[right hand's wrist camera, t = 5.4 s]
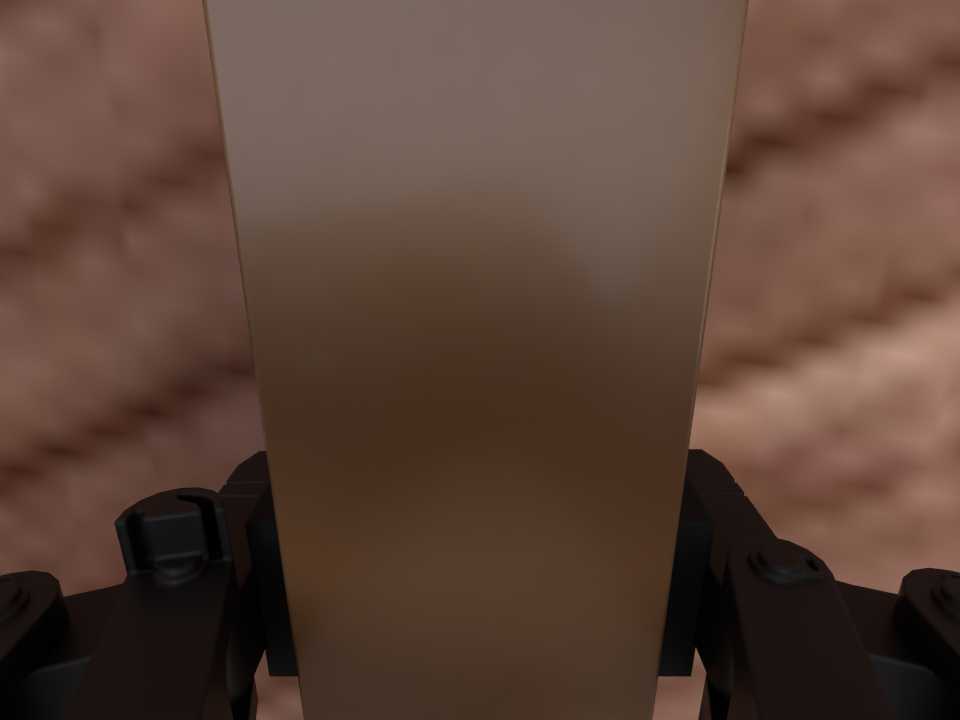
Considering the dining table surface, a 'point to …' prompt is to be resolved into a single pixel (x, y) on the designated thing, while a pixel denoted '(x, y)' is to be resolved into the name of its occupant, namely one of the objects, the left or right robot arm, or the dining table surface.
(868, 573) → the dining table surface
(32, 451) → the dining table surface
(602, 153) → the bar
